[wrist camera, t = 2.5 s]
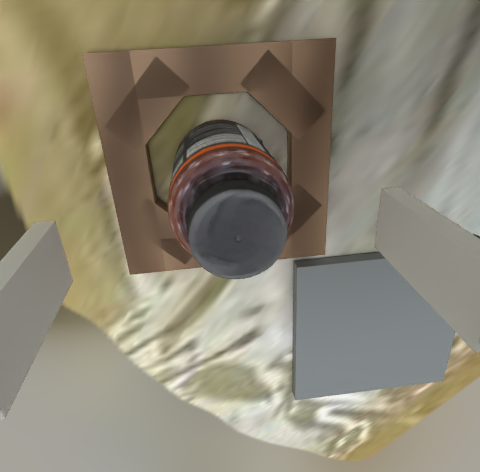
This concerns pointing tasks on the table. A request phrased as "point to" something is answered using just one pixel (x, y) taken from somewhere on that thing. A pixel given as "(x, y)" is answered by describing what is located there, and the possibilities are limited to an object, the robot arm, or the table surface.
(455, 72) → the table surface
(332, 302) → the slate pad
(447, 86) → the table surface
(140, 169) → the socket board
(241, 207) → the supplement bottle
